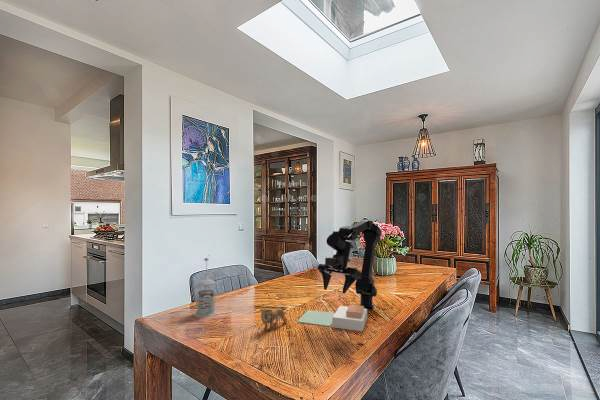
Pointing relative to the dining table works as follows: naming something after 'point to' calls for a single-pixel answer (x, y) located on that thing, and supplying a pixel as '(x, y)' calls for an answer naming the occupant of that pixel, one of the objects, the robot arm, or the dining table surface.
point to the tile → (355, 311)
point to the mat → (317, 318)
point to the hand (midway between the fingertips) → (334, 291)
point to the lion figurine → (272, 316)
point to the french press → (205, 299)
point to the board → (348, 320)
